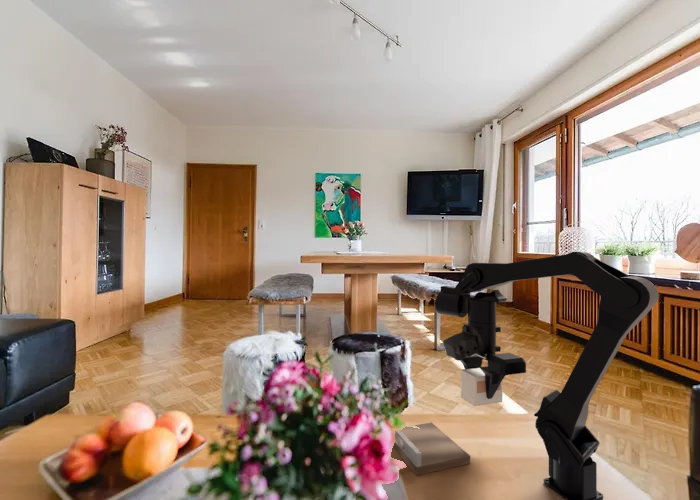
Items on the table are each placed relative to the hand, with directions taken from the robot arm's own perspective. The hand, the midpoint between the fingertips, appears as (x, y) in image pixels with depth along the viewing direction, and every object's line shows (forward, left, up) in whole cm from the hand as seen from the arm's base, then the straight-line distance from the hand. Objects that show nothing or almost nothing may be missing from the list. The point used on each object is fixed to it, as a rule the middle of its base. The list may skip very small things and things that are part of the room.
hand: (481, 393), depth 73 cm
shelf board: (+3, +12, -11) cm, 17 cm away
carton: (0, 0, -1) cm, 1 cm away
